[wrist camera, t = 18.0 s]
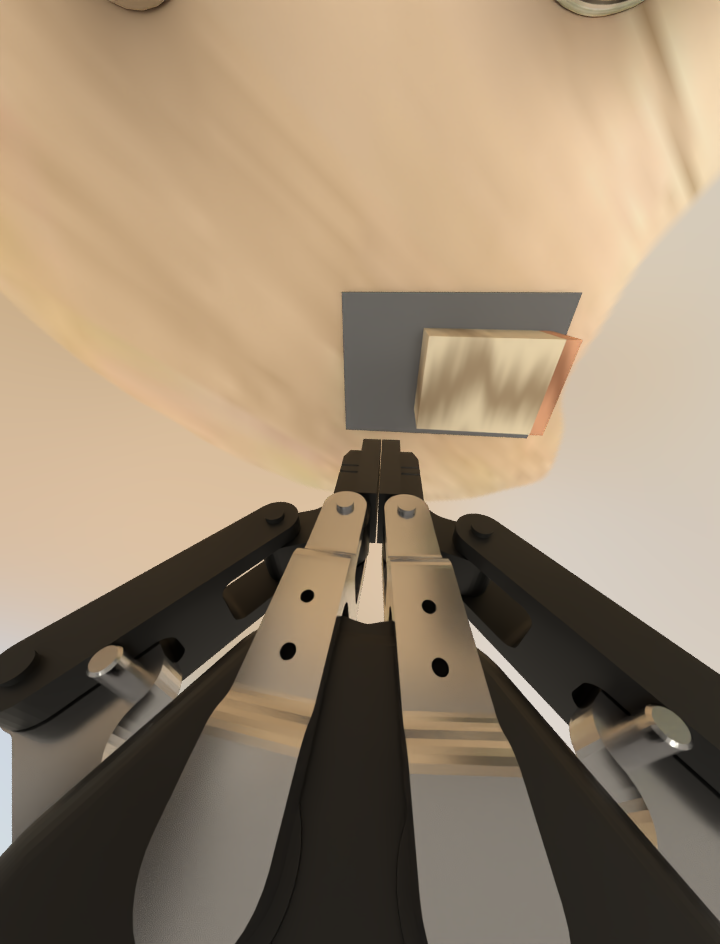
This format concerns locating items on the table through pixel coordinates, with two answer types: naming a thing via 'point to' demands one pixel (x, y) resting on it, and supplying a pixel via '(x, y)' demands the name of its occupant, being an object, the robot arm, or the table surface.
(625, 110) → the table surface
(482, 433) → the mat
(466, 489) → the table surface
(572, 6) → the coffee can
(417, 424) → the block
